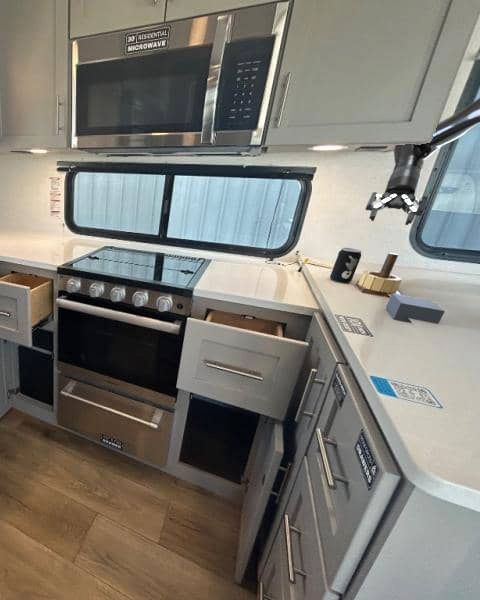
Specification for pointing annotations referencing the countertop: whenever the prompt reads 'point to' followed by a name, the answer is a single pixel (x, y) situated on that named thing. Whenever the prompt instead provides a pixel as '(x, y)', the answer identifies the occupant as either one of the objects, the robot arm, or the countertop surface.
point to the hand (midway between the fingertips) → (389, 221)
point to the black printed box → (345, 265)
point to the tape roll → (379, 282)
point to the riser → (414, 309)
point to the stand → (383, 275)
